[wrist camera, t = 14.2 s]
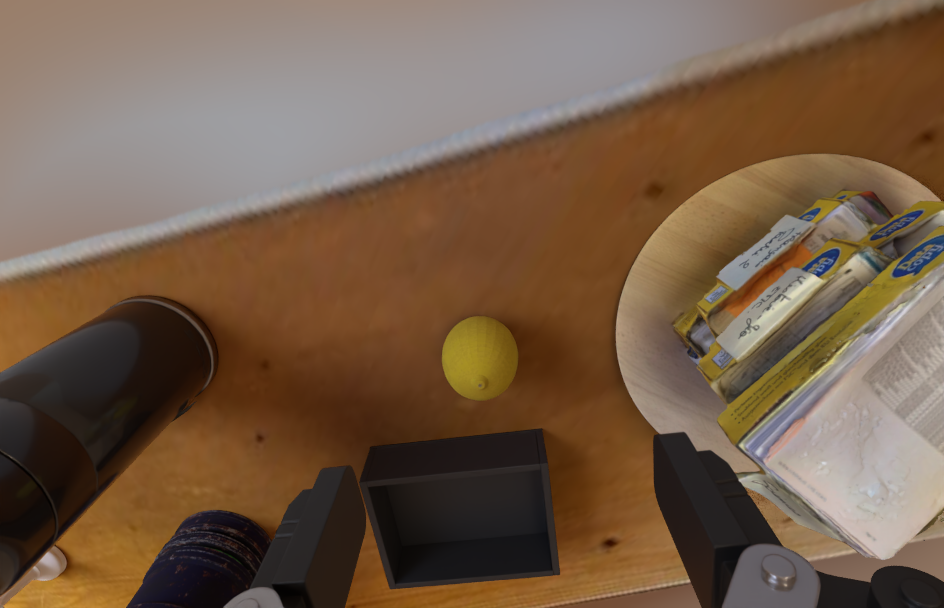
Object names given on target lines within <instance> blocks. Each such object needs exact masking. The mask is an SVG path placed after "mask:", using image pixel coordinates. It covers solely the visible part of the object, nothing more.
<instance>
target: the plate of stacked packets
mask: <svg viewBox="0 0 944 608" xmlns="http://www.w3.org/2000/svg"><path fill="white" fill-rule="evenodd" d="M616 347H617V355H618V361H619V366H620V370H621V373H622V376H623V379H624V382H625V385H626V387H627V389H628V392H629V394H630V396H631V398H632V399H633V401H634V403H635V404H636V406H637V408H638V409H639V411H640V412H641V413H642V415H643V416H644V417H645V419H646V420H647V421H648V422H649V423H650V424H651V426H652V427H653V428H654V429H655V430H656V431H657V432H658V433H660V434H666V433H676V432H685V433H686V434H687V435H688V437H689V438H690V440H691V442H692V443H693V445H694V447H695V448H696V450H697V451H704V450H711V451H713V452H714V453H715V454H717V455H718V456H719V457H721V458H722V459H724V460H725V461H726V462H728V464H729V465H730V467H731V468H732V470H733V471H734V472H739V473H736V476H737V477H738V479H739V482H741V483H742V485H743V486H744V487H746V488H749V489H752V490H754V491H756V492H758V493H760V494H761V495H763V496H764V497H766V498H767V499H769V500H770V501H771V502H772V503H774V504H775V505H776V506H777V507H778V508H780V509H781V510H782V511H783V512H784V513H785V514H786V515H788V516H789V517H791V519H792V520H793V521H795V522H796V523H797V524H799V525H801V526H804V527H807V528H810V529H812V530H814V531H817V532H819V533H821V534H824V535H827V536H829V537H831V538H834V539H837V540H839V541H842V542H844V543H846V544H848V545H849V546H850V547H852V548H853V549H854V550H856V551H857V552H858V553H860V554H861V555H863V556H864V557H868V558H870V557H875V558H878V559H880V560H884V559H888V558H891V557H894V556H895V555H896V553H897V552H898V551H899V550H900V549H901V548H902V547H903V546H905V545H906V544H907V543H908V542H909V541H910V540H911V539H912V538H913V537H914V536H916V535H918V534H920V533H922V532H923V531H925V530H927V529H928V528H929V527H930V526H931V525H933V524H934V523H935V521H936V520H937V516H940V515H941V514H942V513H943V511H944V201H941V200H940V199H939V198H938V197H937V196H935V195H934V194H933V193H932V192H931V191H930V190H929V189H927V188H926V187H925V186H923V185H922V184H920V183H919V182H918V181H916V180H914V179H913V178H911V177H910V176H908V175H906V174H904V173H902V172H900V171H898V170H896V169H894V168H891V167H889V166H886V165H884V164H881V163H877V162H874V161H871V160H867V159H863V158H858V157H853V156H846V155H837V154H804V155H794V156H787V157H781V158H777V159H772V160H768V161H764V162H761V163H757V164H754V165H751V166H748V167H746V168H743V169H740V170H738V171H736V172H733V173H731V174H729V175H727V176H725V177H723V178H721V179H719V180H717V181H715V182H714V183H712V184H710V185H708V186H707V187H705V188H704V189H702V190H701V191H699V192H698V193H696V194H695V195H693V196H692V197H691V198H689V199H688V200H687V201H685V202H684V203H683V204H682V205H681V206H679V207H678V208H677V209H676V210H675V211H674V212H673V213H672V214H671V215H670V216H669V217H668V218H667V219H666V220H665V221H664V222H663V223H662V224H661V225H660V226H659V227H658V229H657V230H656V231H655V232H654V233H653V235H652V236H651V237H650V239H649V240H648V241H647V243H646V244H645V246H644V247H643V248H642V250H641V252H640V254H639V255H638V257H637V259H636V261H635V262H634V264H633V266H632V268H631V270H630V273H629V275H628V277H627V280H626V282H625V285H624V288H623V292H622V295H621V299H620V303H619V308H618V314H617V322H616ZM829 351H830V352H829ZM942 521H944V517H943V518H942V519H941V522H942ZM924 541H925V540H924Z"/></svg>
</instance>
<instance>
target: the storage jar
mask: <svg viewBox="0 0 944 608" xmlns="http://www.w3.org/2000/svg"><path fill="white" fill-rule="evenodd" d="M270 544H271V540H270V538H269V537H268V535H267V534H266V533H265V531H264V530H263V529H262V528H261V527H259V526H258V525H257V524H256V523H254V522H253V521H251V520H249V519H248V518H246V517H244V516H241V515H238V514H235V513H232V512H227V511H219V510H211V511H203V512H199V513H196V514H194V515H192V516H190V517H188V518H187V519H186V520H185V521H183V522H182V524H181V525H180V526H179V528H178V529H177V531H176V533H175V535H174V536H173V537H172V538H171V539H170V541H169V542H168V543H166V544H165V546H164V547H163V549H162V550H161V551H160V553H159V554H158V556H157V557H156V559H155V561H154V563H153V564H152V566H151V567H150V569H149V570H148V572H147V573H146V575H145V577H144V580H143V584H142V585H141V587H140V588H139V590H138V591H137V593H136V594H135V596H134V597H133V598H132V600H131V601H130V603H129V604H128V606H127V607H126V608H223V607H224V606H225V605H226V604H227V603H228V602H229V601H231V600H232V599H233V598H234V597H236V596H237V595H239V594H241V593H243V592H244V591H247V590H249V589H250V587H251V584H252V582H253V580H254V578H255V576H256V574H257V572H258V570H259V568H260V565H261V563H262V561H263V559H264V557H265V555H266V553H267V551H268V549H269V546H270Z"/></svg>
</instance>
